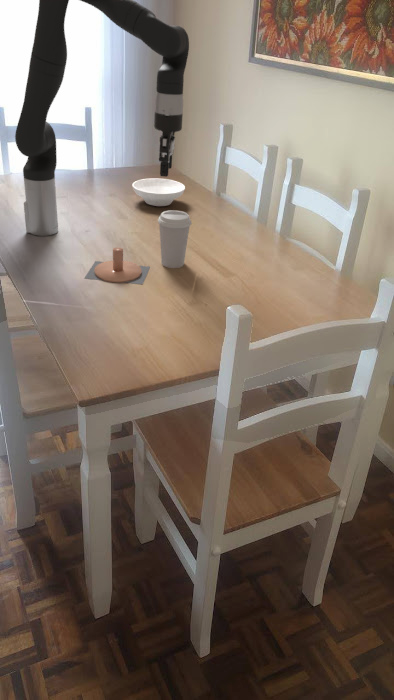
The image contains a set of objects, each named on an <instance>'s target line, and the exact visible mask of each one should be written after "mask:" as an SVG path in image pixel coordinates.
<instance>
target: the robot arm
mask: <svg viewBox="0 0 394 700" xmlns="http://www.w3.org/2000/svg"><path fill="white" fill-rule="evenodd" d="M79 1H80V2H83V3H85V4H88V5H90V6H92V7H94V8H95V9H97V10H98V11H100V12H101V13H103V14H104V15H105V16H106V17H107V18H108V19H109V20H110V21H111V22H112V23H114V24H115V25H116V26H118V27H119V28H120V29H121V30H124V32H127V33H128V34H130V35H132V36H133V37H135V38H137V39H138V40H140V41H142V42H143V44H145V45H147V47H148V48H150V49H151V50H152V51H154V52H155V53H156V54H158V55H159V56H161V57H162V61H161V66H160V67H159V69H158V71H157V73H156V88H155V89H156V92H155V93H156V94H155V98H154V99H155V100H154V121H153V122H154V123H153V126H154V130H155V129H156V130H157V131H161V132H162V133H161V135H160V137H159V149H158V151H159V153H158V154H159V155H158V161H159V162H160V166H159V167H160V169H159V176H160V177H164V178H165V177H168V176H169V169H172V166H173V156H174V151H175V144H176V136H175V133H177V132H180V131H182V129H183V113H184V77H185V76H184V75H185V70H186V67H187V62H188V57H189V50H190V41H189V35H188V32H187V31H186V30H185V28H184V27H182V26H180V25H177V24H176V25H174V24H173V25H169V24H167V23H165V22H164V21H162V20H161V19H159V18H157V17H156V14H155V13H154V12H152V10H150V9H148V7H145V6H144V5H142V4H140V3H138V2H136V1H135V0H79ZM69 2H70V0H39V2H38V12H37V13H38V14H37V20H36V25H35V31H34V38H33V43H32V44H33V45H32V48H31V52H30V53H31V54H30V60H29V67H28V75H27V81H26V85H25V86H26V87H25V91H24V99H23V103H22V108H21V111H20V115H19V118H18V123H17V126H16V130H15V136H14V138H15V145H16V147H17V149H18V150H19V153H21V154H22V155H23V156H25V157H27V160H26V162H25V164H24V166H23V169H22V173H23V185H24V195H25V201H24V202H23V210H24V211H23V212H24V220H25V221H24V222H25V223H24V224H25V231H26V233H29V234H31V235H33V236H42V237H44V236H45V237H46V236H47V237H48V236H52V235H55V234H57V233H58V232H59V221H58V203H57V189H56V188H57V187H56V177H55V176H56V175H55V174H56V173H55V171H56V168H57V163H58V162H57V159H58V158H57V138H56V133H55V131H54V128H53V126H52V125H51V124H50V123H49V122H48V121H47V117H48V114H49V112H50V108H51V106H52V103H53V102H54V100H55V98H56V97H57V94H58V93H59V90H60V88H61V86H62V83H63V80H64V78H65V76H64V75H65V70H66V66H67V60H68V59H67V58H68V48H67V47H68V46H67V40H66V33H65V19H66V14H67V9H68V5H69Z"/></svg>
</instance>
